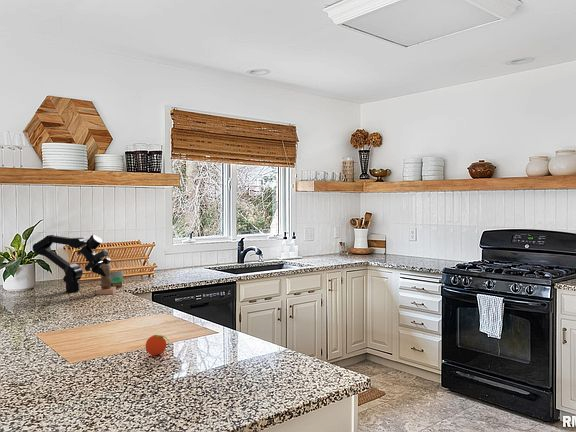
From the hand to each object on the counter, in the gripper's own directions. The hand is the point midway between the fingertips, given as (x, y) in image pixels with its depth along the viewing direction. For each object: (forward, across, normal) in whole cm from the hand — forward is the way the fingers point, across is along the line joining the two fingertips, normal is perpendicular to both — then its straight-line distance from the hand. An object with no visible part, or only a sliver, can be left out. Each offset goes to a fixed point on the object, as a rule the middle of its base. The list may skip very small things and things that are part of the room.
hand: (108, 275), depth 282 cm
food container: (+5, +15, +10) cm, 18 cm away
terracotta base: (+6, 0, +8) cm, 10 cm away
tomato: (+62, -97, -48) cm, 125 cm away
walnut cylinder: (+4, 0, +6) cm, 7 cm away
